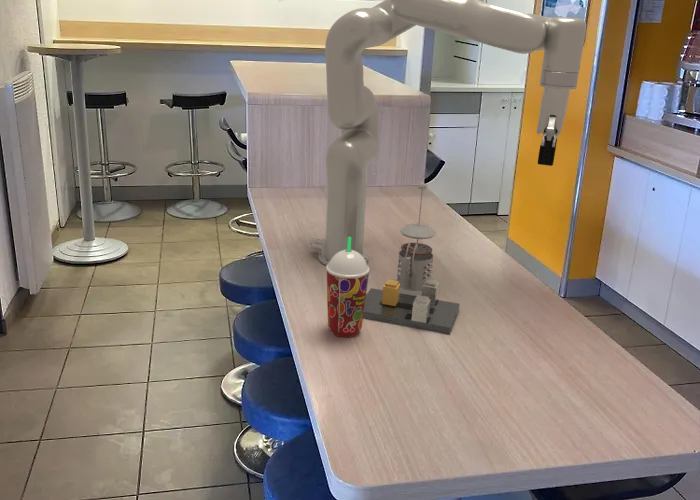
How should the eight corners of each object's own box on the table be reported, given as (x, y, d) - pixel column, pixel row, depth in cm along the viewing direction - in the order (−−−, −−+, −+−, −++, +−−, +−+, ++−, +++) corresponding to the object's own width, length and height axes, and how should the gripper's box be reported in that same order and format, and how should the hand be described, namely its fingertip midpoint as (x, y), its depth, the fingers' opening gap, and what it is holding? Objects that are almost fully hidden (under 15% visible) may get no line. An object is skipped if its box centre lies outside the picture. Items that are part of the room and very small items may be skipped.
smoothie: (361, 343, 131) (367, 247, 124) (319, 337, 132) (322, 242, 125) (368, 324, 138) (374, 232, 131) (329, 319, 140) (333, 227, 133)
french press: (438, 282, 160) (449, 180, 151) (427, 302, 150) (438, 193, 141) (398, 275, 163) (406, 174, 154) (384, 294, 153) (392, 187, 144)
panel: (354, 316, 142) (356, 289, 139) (370, 294, 152) (372, 269, 150) (449, 334, 136) (452, 307, 134) (458, 309, 147) (462, 284, 145)
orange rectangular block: (381, 303, 144) (383, 284, 142) (385, 298, 146) (386, 278, 145) (395, 306, 143) (397, 286, 141) (398, 300, 146) (400, 281, 144)
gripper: (542, 74, 150) (530, 150, 156) (538, 82, 135) (525, 166, 141) (577, 77, 148) (564, 153, 154) (577, 86, 133) (563, 171, 139)
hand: (546, 159), depth 148 cm, fingers open, 9 cm apart
